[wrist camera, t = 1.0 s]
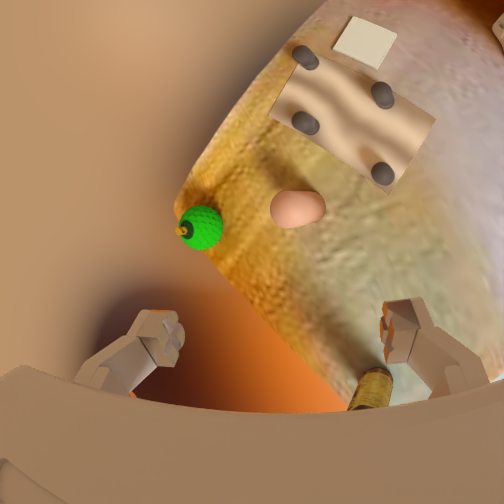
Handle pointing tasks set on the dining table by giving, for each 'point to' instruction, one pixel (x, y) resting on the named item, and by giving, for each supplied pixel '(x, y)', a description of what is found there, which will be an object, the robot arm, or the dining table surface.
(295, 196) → the tan cylinder block
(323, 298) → the dining table surface
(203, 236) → the ornament
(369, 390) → the sauce bottle
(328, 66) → the post board
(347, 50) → the mat
